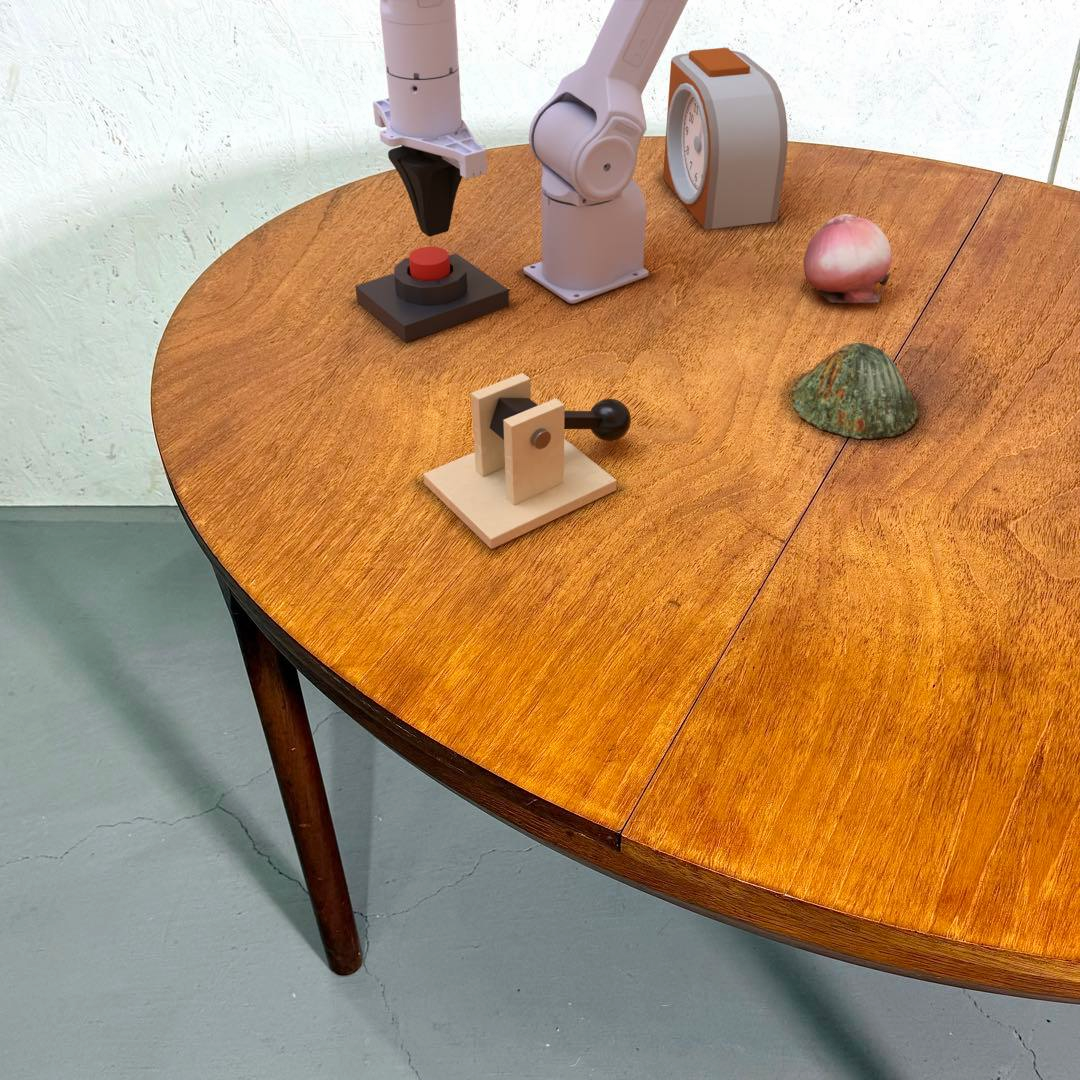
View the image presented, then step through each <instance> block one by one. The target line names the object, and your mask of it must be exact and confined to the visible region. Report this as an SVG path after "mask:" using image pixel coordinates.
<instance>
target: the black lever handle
mask: <svg viewBox="0 0 1080 1080" xmlns="http://www.w3.org/2000/svg"><path fill="white" fill-rule="evenodd" d="M538 405H539V404H537V403H536V402H535V401H534V400H532V398H531V399H529V398H499V399H498V402H497V405H496V408H495V411H494V414H493V418H492V421H491V424H490V427H489V428H490V429H491V430H492V431H494V432H495V433H496V434H497V435H498V436H499V437H501V438H502V439H503V440H504V421H503V420H504V419H507V418H509V417H512V416H514V415H516V414H519V413H521V412H524V411H526V410H528V409H531V408H533V407H536V406H538ZM631 423H632V416H631V412H630V410H629V408H628V407H627V406H626V405H625V403H624V402H622V401H621V400H618V399H616V398H604V399H601V400H599V401H597V402H596V403H595V404H594V405H593V406H592V407H591V409H590V410H564V430H590V431H591V433H592V434H593V436H595V437H596V438H597V439H599V440H601V441H604V442H615V441H619V440H620V439H622V438H623V437H625V435H626V434H627V433H628V432H629V430H630V427H631Z"/></svg>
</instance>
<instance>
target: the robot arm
mask: <svg viewBox="0 0 1080 1080" xmlns="http://www.w3.org/2000/svg"><path fill="white" fill-rule="evenodd" d="M688 1H689V0H614V1H613V3H612V5H611V8H610V10H609V12H608V14H607V16H606V19H605V20H604V23H603V25H602V27H601V29H600V31H599V33H598V35H597V37H596V39H595V42H594V44H593V46H592V48H591V50H590V52H589V55H588V56H587V59H586V61H585V63H584V64H583V65H582V66H580V67H578V68H577V69H575V70H573V71H571V72H570V73H568V74H566V75H565V76H564V77H562V78H561V79H560V82H559V83H558V86H557V88H556V90H555V92H554V93H553V95H552V96H551V97H550V99H549V100H548V101H546V103H544V104H543V105H542V106H541V107H540V108H539V109H538V110H537V112H535V115H534V116H533V118H532V121H531V123H530V125H529V126H530V127H529V131H528V144H529V149H530V151H531V153H532V155H533V157H534V158H535V159H536V160H537V161H538V162H539V163H540V164H541V181H540V182H541V183H540V185H541V186H540V187H541V191H540V192H541V195H540V197H541V261H538V262H535V263H533V264H530V265H526V266H524V267H523V274H524V275H527V276H528V277H529V278H531V279H532V280H533V281H535V282H537V283H538V284H539V285H541V286H543V287H544V288H546V289H547V290H549V291H550V292H552V293H553V294H555V295H556V296H558V297H559V298H561V299H562V300H564V301H565V302H566V303H568V304H577V303H579V302H582V301H585V300H588V299H591V298H593V297H596V296H599V295H601V294H603V293H606V292H609V291H612V290H615V289H618V288H621V287H623V286H626V285H628V284H631V283H634V282H637V281H639V280H642V279H645V278H647V277H648V276H649V273H650V272H649V270H648V269H646V268H645V267H644V262H645V245H646V231H647V230H646V228H647V204H646V200H645V196H644V193H643V191H642V188H641V186H640V185H639V184H638V182H636V180H635V179H633V177H634V176H635V175H634V174H635V172H636V168H637V164H638V154H639V153H638V152H639V148H640V145H641V142H642V140H643V137H644V135H645V134H646V131H647V130H648V129H647V127H648V126H647V119H646V115H645V110H644V105H643V101H642V100H643V99H642V96H643V95H642V94H643V93H644V90H645V88H646V86H647V84H648V82H649V80H650V78H651V76H652V75H653V72H654V70H655V68H656V66H657V65H658V62H659V61H660V58H661V56H662V54H663V53H664V50H665V48H666V46H667V44H668V42H669V40H670V38H671V36H672V34H673V31H674V30H675V27H676V25H677V24H678V22H679V20H680V17H681V15H682V14H683V12H684V9H685V7H686V5H687V4H688ZM456 7H457V6H456V1H455V0H379V15H380V23H381V33H382V43H383V44H382V45H383V54H384V64H385V74H386V84H387V93H388V98H383V99H380V100H376V101H372V108H373V117H374V125H376V126H377V127H379V128H385V129H383V130H381V131H380V132H379V141H381V142H382V143H383V144H385V145H387V146H388V147H390V148H391V147H394V148H391V149H389V151H387V154H388V155H387V157H388V160H389V161H390V162H391V164H392V166H393V167H394V168H395V170H396V172H397V173H398V175H399V177H400V179H401V181H402V183H403V185H404V187H405V189H406V192H407V195H408V197H409V200H410V203H411V205H412V206H411V207H412V208H413V211H414V215H415V218H416V222H417V224H418V226H419V229H420V232H422V233H423V234H424V235H426V236H427V237H429V238H430V237H435V236H437V235H441V234H443V233H447V232H449V231H450V226H451V221H452V215H453V211H454V206H455V200H456V196H457V192H458V189H459V187H460V185H461V181H462V179H466V180H469V179H472V178H476V177H480V176H483V175H487V174H488V158H487V157H488V155H487V153H488V152H487V149H486V148H485V147H483V146H481V145H480V144H479V142H478V141H477V140H476V139H475V137H474V135H473V133H472V131H470V128H469V127H468V125H467V124H466V123H465V120H463V117H462V97H461V83H460V82H461V81H460V80H461V79H460V77H461V76H460V65H459V64H460V63H459V47H458V45H459V44H458V27H457V26H458V25H457V8H456Z"/></svg>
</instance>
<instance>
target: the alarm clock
mask: <svg viewBox="0 0 1080 1080" xmlns="http://www.w3.org/2000/svg"><path fill="white" fill-rule="evenodd" d="M669 69H670V71H669V86H668V98H667V99H668V100H667V114H666V127H665V143H664V157H663V171H662V178H663V180H664V182H665V183H666V184H667V185H668V187H669V188H670V190H672V192H673V193H674V194H675V195H676V196H677V198H678V199H679V200H680V201H681V203H682V204H683V205H684V207H685V208H686V209H687V210H688V211H689V212H690V213H691V215H692V216H693V217H694V218H695V220H696V221H697V222H698V223H699V225H700V226H701V227H702V228H703V230H704V231H705V230H706V231H709V230H715V229H723V228H731V227H739V226H749V225H757V224H765V223H766V224H767V223H773V222H777V221H778V218H779V212H780V204H781V200H782V199H781V198H782V192H783V184H784V178H785V171H786V164H787V157H788V156H787V155H788V145H789V140H788V139H789V138H788V137H789V134H788V121H787V113H786V106H785V103H784V99H783V95H782V92H781V89H780V87H779V86H778V83H777V82H776V80H775V79H774V77H772V75H771V74H770V73H769V72H768V71H766V70H765V69H764V68H763V67H761V66H760V65H759V64H758V63H757V62H755V61H754V60H753V59H752V58H750V57H749V56H748V55H747V54H745V53H744V52H740V51H737V50H731V49H730V48H728V47H717V48H706V49H695V50H690V51H689V52H688V53H681V54H676V55H674V56H673V57H672V58H671V60H670V68H669Z"/></svg>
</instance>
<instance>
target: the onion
mask: <svg viewBox="0 0 1080 1080" xmlns="http://www.w3.org/2000/svg"><path fill="white" fill-rule="evenodd" d="M892 261H893V252H892V247H891V244H890V242H889V240H888V238H887V236H886V234H885V233H884V231H883V230H882V229H881V228H880V227H879V226H878V225H877V224H876V223H874V222H873V221H871V220H869V219H866V218H865V217H864V218H863V217H858V216H857V215H854V214H849V213H843V214H840V215H837V216H834V217H832V218H830V219H829V220H828V221H826V222H825V223H824V224H823V225H822V227H821V228H820V229H818V230H817V231H816V232H815V233H814V234H813V236H812V237H811V238H810V239H809V242H808V244H807V246H806V250H805V253H804V259H803V272H804V276H805V278H806V280H807V281H808V283H809V284H810V285H811V286H812V287H813V288H814V289H816V290H817V292H818V293H819V294H820V295H821V296H822V297H823V298H824V299H825V300H827V302H829V303H833V304H834V303H835V304H838V303H839V304H878V303H879V301H880V299H881V297H882V294H883V292H884V287H885V286H886V284H887V283H888V281H889V279H890V277H891V274H892V273H891V272H889V271H890V268H891V265H892ZM878 284H879V285H880V286H881V290H880V291H874V288H875V287H876V285H878Z"/></svg>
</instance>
